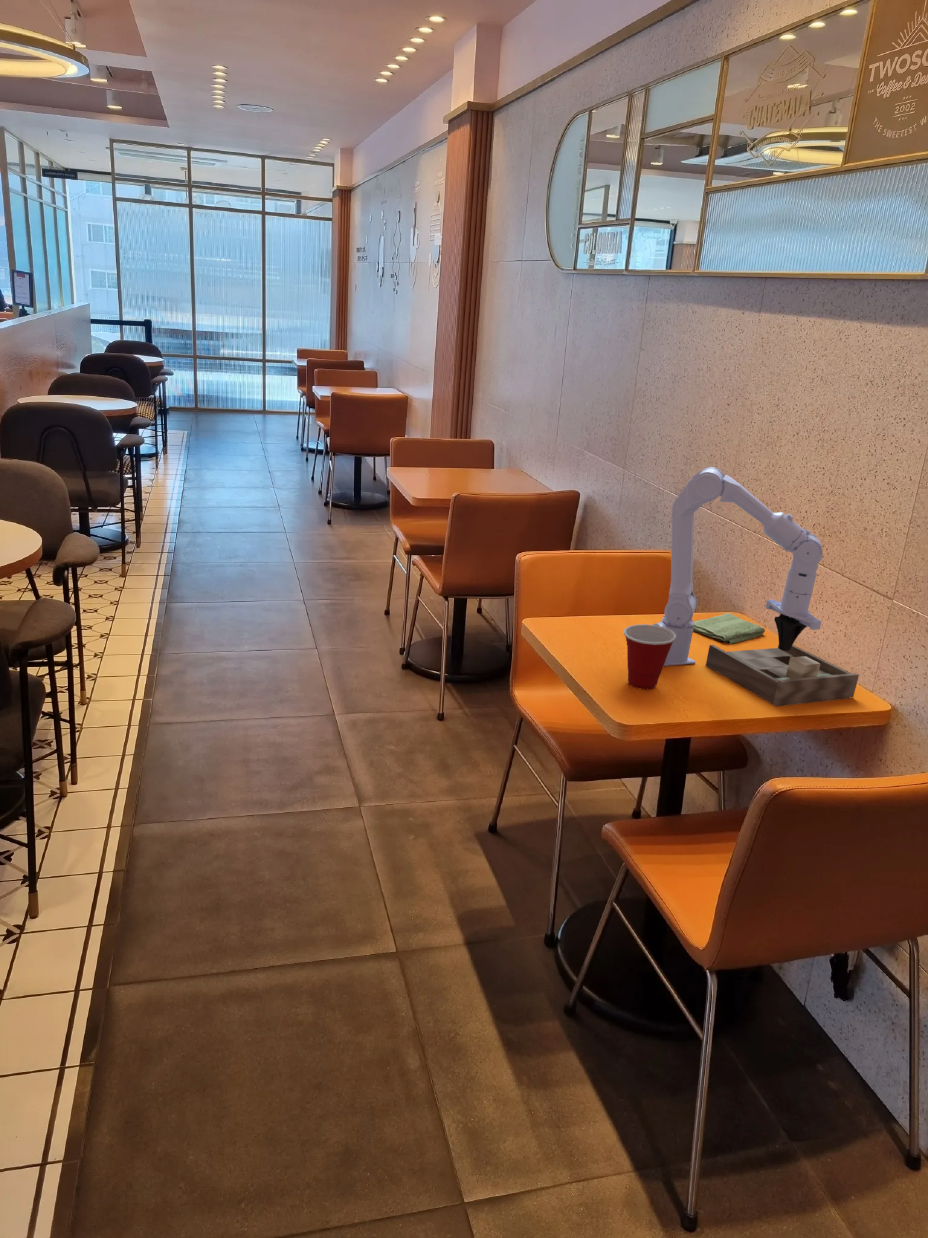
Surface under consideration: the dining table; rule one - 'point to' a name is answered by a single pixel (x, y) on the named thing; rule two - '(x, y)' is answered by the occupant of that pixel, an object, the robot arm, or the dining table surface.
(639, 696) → the dining table surface
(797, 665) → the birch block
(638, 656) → the plastic cup
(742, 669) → the trap box
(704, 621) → the washcloth
